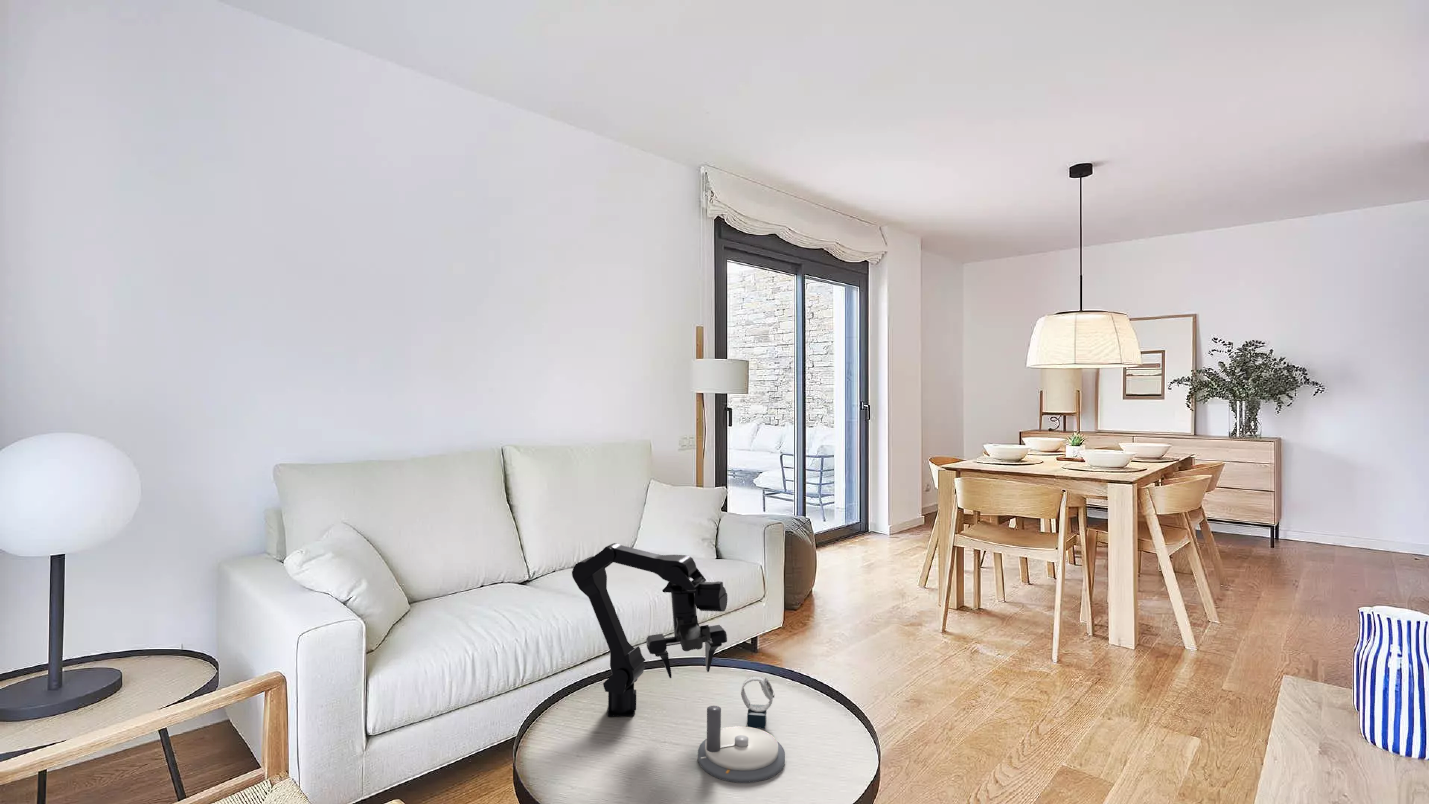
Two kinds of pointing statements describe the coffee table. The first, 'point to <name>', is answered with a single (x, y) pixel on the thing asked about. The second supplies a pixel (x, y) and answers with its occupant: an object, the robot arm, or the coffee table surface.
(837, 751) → the coffee table surface
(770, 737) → the dial
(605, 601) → the robot arm
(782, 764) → the dial base
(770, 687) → the watch
